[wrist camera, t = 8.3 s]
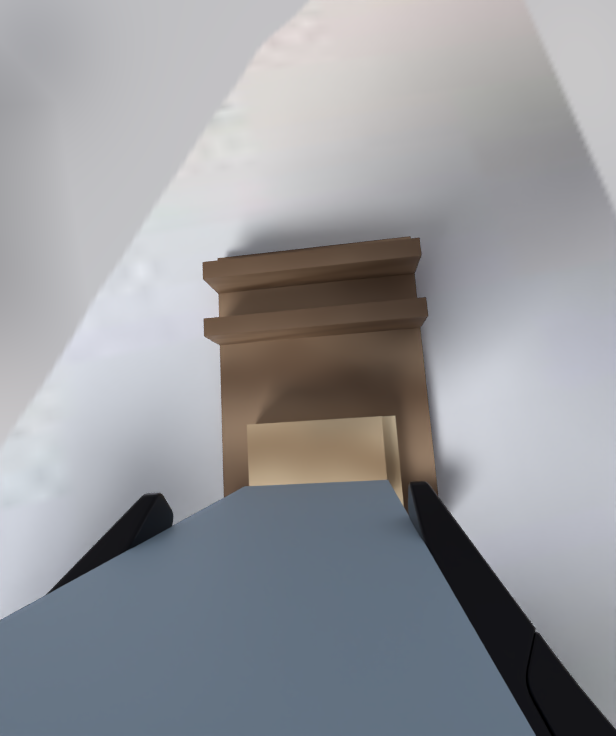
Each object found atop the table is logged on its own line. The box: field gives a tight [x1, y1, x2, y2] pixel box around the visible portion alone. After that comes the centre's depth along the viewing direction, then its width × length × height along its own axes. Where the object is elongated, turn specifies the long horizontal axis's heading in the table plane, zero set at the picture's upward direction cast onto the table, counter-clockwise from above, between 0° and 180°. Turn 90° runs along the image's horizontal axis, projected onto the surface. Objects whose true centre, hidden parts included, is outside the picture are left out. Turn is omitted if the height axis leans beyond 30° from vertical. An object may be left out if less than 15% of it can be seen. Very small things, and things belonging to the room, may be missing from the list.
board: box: [0, 480, 536, 736], centre depth 9 cm, size 2×6×14 cm, turn 94°
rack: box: [203, 236, 438, 515], centre depth 22 cm, size 17×12×3 cm
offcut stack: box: [247, 416, 404, 507], centre depth 21 cm, size 5×8×2 cm, turn 93°
